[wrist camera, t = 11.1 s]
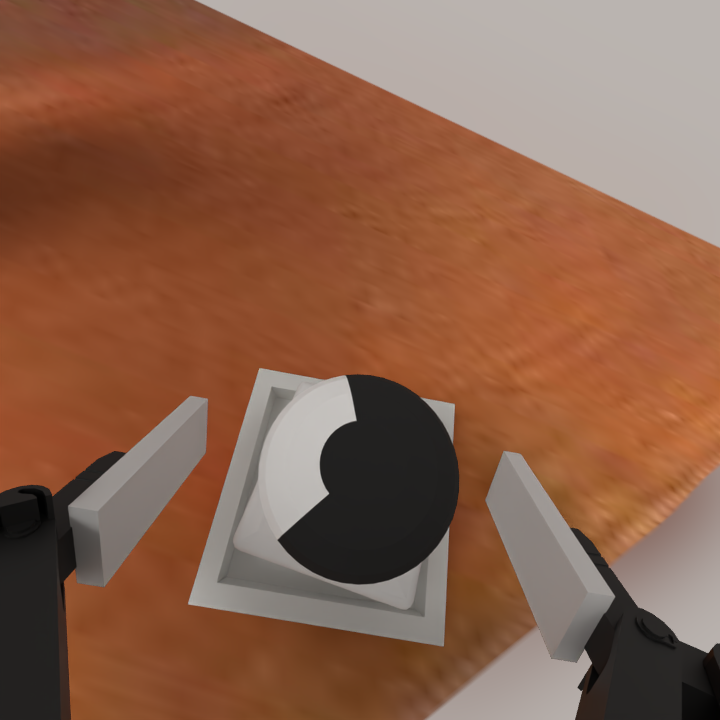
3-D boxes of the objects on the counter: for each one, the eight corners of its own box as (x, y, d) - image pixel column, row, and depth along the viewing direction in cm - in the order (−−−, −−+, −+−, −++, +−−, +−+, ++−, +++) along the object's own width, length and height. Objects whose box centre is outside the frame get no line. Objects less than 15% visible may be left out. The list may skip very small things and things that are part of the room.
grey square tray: (206, 593, 19) (187, 604, 17) (266, 385, 24) (259, 368, 22) (426, 629, 20) (443, 646, 17) (439, 417, 25) (454, 404, 22)
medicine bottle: (414, 456, 22) (503, 391, 12) (381, 585, 19) (461, 661, 8) (305, 419, 23) (293, 321, 12) (257, 540, 20) (181, 557, 9)
